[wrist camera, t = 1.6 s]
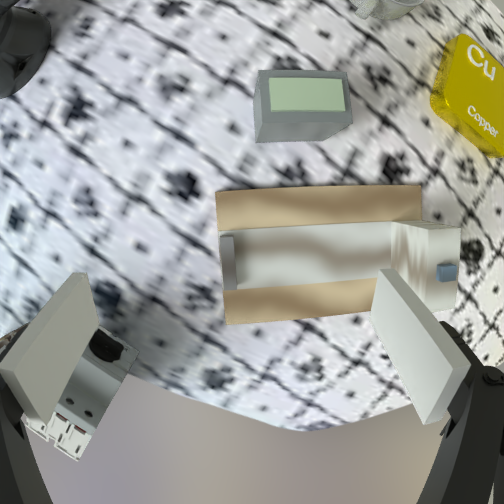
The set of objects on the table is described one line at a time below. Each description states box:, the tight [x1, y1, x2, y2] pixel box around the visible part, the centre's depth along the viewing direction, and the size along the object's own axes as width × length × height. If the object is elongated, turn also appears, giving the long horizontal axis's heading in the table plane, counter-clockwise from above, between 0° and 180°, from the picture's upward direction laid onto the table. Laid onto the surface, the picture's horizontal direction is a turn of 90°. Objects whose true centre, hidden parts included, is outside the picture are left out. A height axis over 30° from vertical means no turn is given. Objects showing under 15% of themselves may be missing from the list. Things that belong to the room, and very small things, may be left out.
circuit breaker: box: [25, 325, 140, 461], centre depth 33 cm, size 8×14×15 cm, turn 146°
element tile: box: [430, 34, 504, 158], centre depth 34 cm, size 15×15×5 cm
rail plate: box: [215, 185, 461, 325], centre depth 34 cm, size 16×26×11 cm, turn 94°
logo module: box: [253, 70, 353, 143], centre depth 31 cm, size 5×8×12 cm, turn 93°
